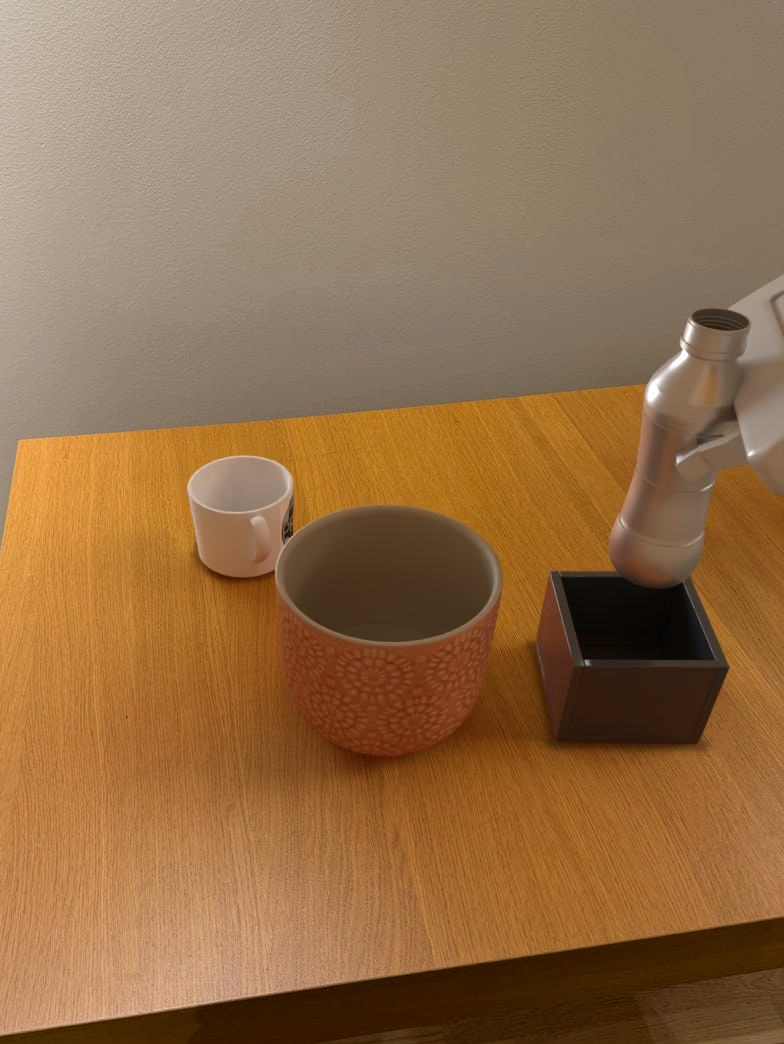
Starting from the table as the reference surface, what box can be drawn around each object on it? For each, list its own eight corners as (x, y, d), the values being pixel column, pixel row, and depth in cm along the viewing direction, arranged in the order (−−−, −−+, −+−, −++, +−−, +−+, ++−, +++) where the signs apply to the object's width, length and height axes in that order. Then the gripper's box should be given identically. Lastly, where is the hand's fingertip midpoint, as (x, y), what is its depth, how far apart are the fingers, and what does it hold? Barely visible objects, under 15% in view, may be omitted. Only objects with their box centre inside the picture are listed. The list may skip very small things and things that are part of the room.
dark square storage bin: (663, 646, 84) (688, 570, 78) (698, 743, 75) (729, 667, 69) (534, 646, 84) (549, 570, 78) (555, 742, 76) (574, 666, 70)
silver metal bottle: (668, 612, 67) (752, 353, 53) (585, 574, 71) (645, 321, 57) (707, 570, 70) (796, 317, 57) (627, 536, 74) (692, 289, 60)
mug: (185, 531, 98) (176, 466, 93) (279, 511, 101) (276, 447, 95) (216, 608, 89) (208, 541, 84) (318, 585, 91) (317, 518, 86)
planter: (443, 627, 86) (458, 490, 76) (511, 764, 74) (540, 623, 64) (266, 656, 84) (256, 520, 74) (306, 803, 72) (300, 664, 61)
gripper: (828, 212, 61) (641, 342, 69) (906, 348, 46) (658, 492, 55) (874, 283, 63) (688, 400, 72) (963, 434, 49) (716, 559, 57)
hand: (675, 441), depth 63 cm, fingers closed on silver metal bottle, 6 cm apart
